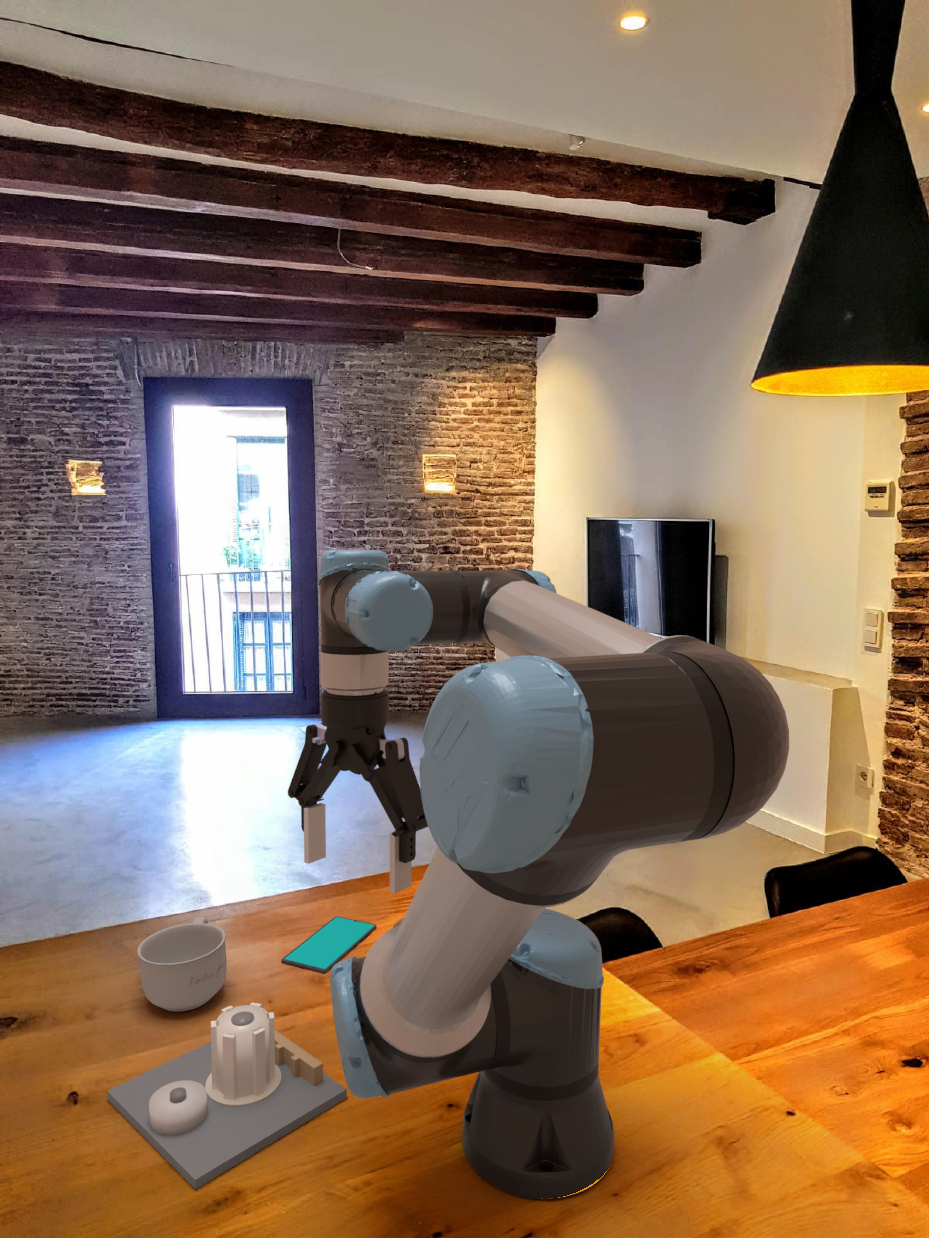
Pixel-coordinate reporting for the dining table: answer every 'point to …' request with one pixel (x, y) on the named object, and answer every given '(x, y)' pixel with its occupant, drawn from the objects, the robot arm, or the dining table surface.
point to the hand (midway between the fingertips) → (356, 874)
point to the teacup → (183, 965)
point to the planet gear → (243, 1050)
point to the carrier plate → (222, 1109)
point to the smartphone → (329, 944)
